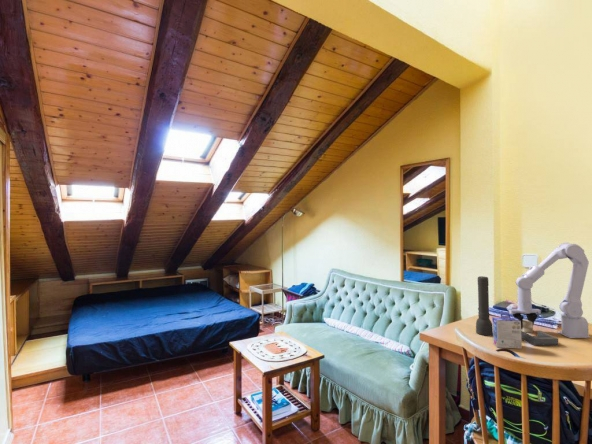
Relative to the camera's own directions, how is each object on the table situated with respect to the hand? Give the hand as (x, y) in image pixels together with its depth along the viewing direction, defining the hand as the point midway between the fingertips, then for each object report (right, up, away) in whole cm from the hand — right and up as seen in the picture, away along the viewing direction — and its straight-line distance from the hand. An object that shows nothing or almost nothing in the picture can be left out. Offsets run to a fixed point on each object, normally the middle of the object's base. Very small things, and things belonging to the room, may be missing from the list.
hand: (525, 328), depth 159 cm
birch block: (0, -1, 0) cm, 1 cm away
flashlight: (-22, -2, -2) cm, 22 cm away
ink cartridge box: (-21, -2, -18) cm, 28 cm away
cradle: (-4, -1, -14) cm, 15 cm away
